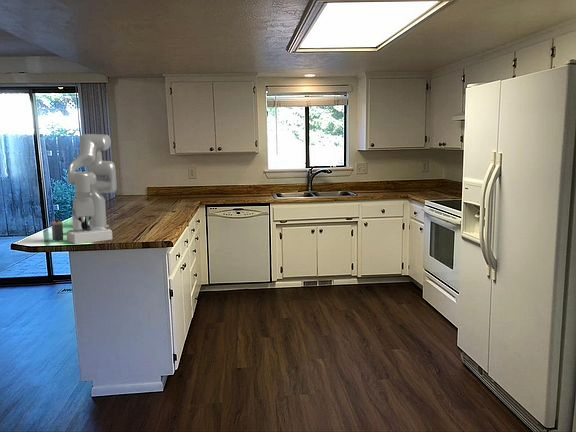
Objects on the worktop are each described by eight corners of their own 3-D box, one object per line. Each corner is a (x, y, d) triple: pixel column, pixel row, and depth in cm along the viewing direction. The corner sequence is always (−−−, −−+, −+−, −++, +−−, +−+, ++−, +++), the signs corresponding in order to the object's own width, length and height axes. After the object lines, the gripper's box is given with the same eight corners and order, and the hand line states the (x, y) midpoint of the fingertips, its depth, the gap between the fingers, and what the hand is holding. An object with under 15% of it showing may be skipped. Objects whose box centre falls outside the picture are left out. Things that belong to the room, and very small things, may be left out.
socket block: (67, 240, 247) (66, 230, 246) (103, 236, 261) (103, 226, 260) (74, 244, 238) (74, 233, 238) (112, 239, 252) (112, 229, 251)
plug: (52, 239, 249) (51, 218, 247) (60, 239, 251) (59, 217, 250) (55, 241, 245) (54, 219, 244) (63, 240, 248) (62, 218, 246)
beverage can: (85, 232, 273) (84, 212, 271) (90, 234, 267) (89, 214, 265) (71, 233, 268) (70, 213, 266) (75, 235, 262) (74, 215, 260)
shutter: (85, 230, 251) (84, 224, 250) (97, 228, 256) (97, 223, 255) (90, 232, 245) (90, 226, 245) (103, 230, 250) (102, 224, 250)
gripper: (94, 194, 252) (96, 227, 255) (66, 195, 242) (67, 229, 245) (99, 195, 247) (101, 228, 249) (70, 197, 237) (72, 231, 239)
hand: (84, 229), depth 247 cm, fingers closed
